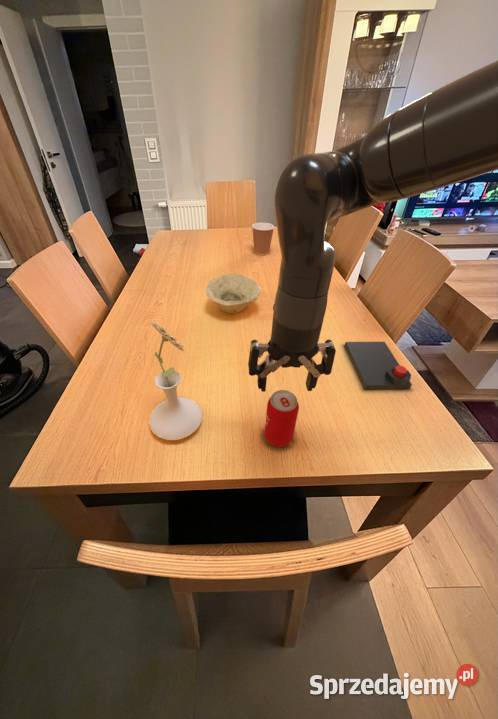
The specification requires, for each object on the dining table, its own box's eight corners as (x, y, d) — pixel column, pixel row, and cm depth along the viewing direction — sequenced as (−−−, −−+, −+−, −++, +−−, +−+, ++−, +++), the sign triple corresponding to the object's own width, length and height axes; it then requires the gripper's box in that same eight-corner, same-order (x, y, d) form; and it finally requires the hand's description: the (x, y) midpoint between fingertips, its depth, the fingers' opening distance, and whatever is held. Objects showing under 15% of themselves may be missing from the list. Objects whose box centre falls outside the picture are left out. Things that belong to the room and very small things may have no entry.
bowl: (243, 308, 113) (272, 295, 103) (212, 326, 101) (240, 313, 90) (226, 274, 110) (253, 257, 100) (192, 288, 98) (218, 270, 88)
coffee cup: (264, 246, 149) (265, 221, 141) (276, 253, 143) (279, 227, 135) (246, 250, 145) (247, 224, 137) (258, 257, 138) (260, 231, 130)
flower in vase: (208, 435, 65) (199, 345, 49) (154, 451, 62) (125, 360, 45) (194, 393, 74) (183, 305, 58) (147, 405, 71) (120, 315, 54)
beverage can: (285, 421, 68) (292, 385, 61) (297, 444, 64) (306, 408, 56) (260, 428, 67) (263, 391, 59) (270, 451, 62) (275, 415, 55)
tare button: (406, 377, 76) (408, 372, 75) (395, 378, 76) (398, 373, 75) (401, 370, 78) (403, 365, 77) (391, 370, 78) (393, 365, 77)
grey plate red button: (410, 390, 77) (415, 380, 75) (365, 391, 77) (369, 381, 74) (382, 345, 91) (386, 336, 89) (344, 346, 90) (347, 336, 88)
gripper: (252, 328, 41) (248, 404, 52) (352, 328, 42) (328, 403, 53) (249, 300, 47) (246, 374, 58) (338, 300, 48) (319, 373, 59)
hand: (285, 388), depth 55 cm, fingers open, 8 cm apart
